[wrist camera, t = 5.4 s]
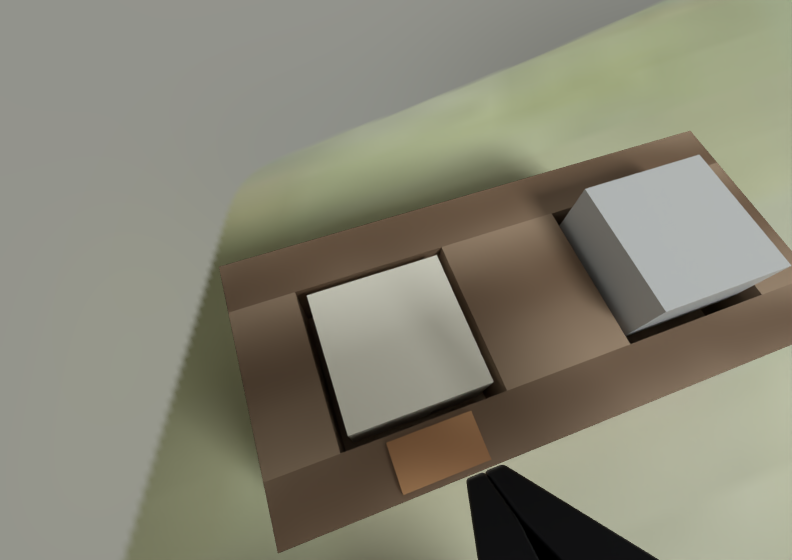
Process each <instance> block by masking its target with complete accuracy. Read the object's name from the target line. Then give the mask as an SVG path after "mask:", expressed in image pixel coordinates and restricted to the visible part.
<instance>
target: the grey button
mask: <svg viewBox="0 0 792 560" xmlns="http://www.w3.org/2000/svg"><path fill="white" fill-rule="evenodd" d="M559 227H560V228H561V230H562V232H563V233H564V235H565V237H566V238H567V240H568V242H569V243H570V245H571V247H572V248H573V250H574V252H575V253H576V255H577V257H578V258H579V260H580V262H581V263H582V265H583V267H584V268H585V270H586V271H587V273H588V275H589V276H590V278H591V280H592V281H593V283H594V285H595V286H596V288H597V290H598V291H599V293H600V295H601V296H602V298H603V300H604V301H605V303H606V305H607V306H608V308H609V310H610V311H611V313H612V315H613V316H614V318H615V320H616V321H617V323H618V325H619V326H620V328H621V330H622V331H623V333H624V335H625V336H629V335H632V334H634V333H637V332H640V331H642V330H645V329H648V328H651V327H653V326H656V325H659V324H661V323H664V322H667V321H669V320H672V319H675V318H677V317H680V316H683V315H685V314H688V313H691V312H693V311H696V310H699V309H701V308H704V307H707V306H710V305H712V304H715V303H718V302H720V301H723V300H726V299H728V298H730V297H732V296H734V295H736V294H738V293H740V292H742V291H744V290H746V289H748V288H749V287H751V286H753V285H755V284H757V283H759V282H761V281H763V280H765V279H767V278H769V277H771V276H773V275H775V274H776V273H778V272H780V271H782V270H784V269H786V268H788V267H790V266H791V264H790V263H789V262H788V261H787V260H786V258H785V257H784V256H783V255H782V254H781V252H780V251H779V250H778V249H777V247H776V246H775V245H774V244H773V243H772V241H771V240H770V239H769V238H768V237H767V235H766V234H765V233H764V232H763V231H762V229H761V228H760V227H759V226H758V225H757V223H756V222H755V221H754V220H753V219H752V217H751V216H750V215H749V214H748V213H747V211H746V210H745V209H744V208H743V207H742V205H741V204H740V203H739V202H738V200H737V199H736V198H735V197H734V196H733V194H732V193H731V192H730V191H729V190H728V188H727V187H726V186H725V185H724V184H723V182H722V181H721V180H720V179H719V178H718V176H717V175H716V174H715V173H714V172H713V170H712V169H711V168H710V167H709V166H708V164H707V163H706V162H705V161H704V160H703V158H702V157H701V156H700V155H696V156H693V157H690V158H686V159H683V160H680V161H676V162H673V163H670V164H666V165H663V166H660V167H656V168H653V169H650V170H646V171H643V172H640V173H636V174H633V175H630V176H626V177H623V178H620V179H616V180H613V181H610V182H606V183H603V184H600V185H597V186H593V187H590V188H587V189H585V190H584V191H583V193H582V194H581V195H580V197H579V198H578V200H577V201H576V203H575V204H574V206H573V207H572V208H571V210H570V211H569V213H568V214H567V216H566V217H565V218H564V220H563V221H562V223H561V224H560V226H559Z"/></svg>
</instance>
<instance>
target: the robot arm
mask: <svg viewBox="0 0 792 560" xmlns="http://www.w3.org/2000/svg"><path fill="white" fill-rule="evenodd" d="M467 489H468V496H469V503H470V510H471V516H472V523H473V530H474V537H475V544H476V550H477V557H478V560H659V559H657V558H655V557H654V556H652V555H650V554H649V553H647V552H646V551H644V550H642V549H641V548H639V547H637V546H636V545H634V544H632V543H631V542H629V541H628V540H626V539H624V538H623V537H621V536H619V535H618V534H616V533H615V532H613V531H611V530H610V529H608V528H606V527H605V526H603V525H602V524H600V523H598V522H597V521H595V520H593V519H592V518H590V517H589V516H587V515H585V514H584V513H582V512H580V511H579V510H577V509H575V508H574V507H572V506H571V505H569V504H567V503H566V502H564V501H562V500H561V499H559V498H558V497H556V496H554V495H553V494H551V493H549V492H548V491H546V490H545V489H543V488H541V487H540V486H538V485H536V484H535V483H533V482H532V481H530V480H528V479H527V478H525V477H523V476H522V475H520V474H518V473H517V472H515V471H514V470H512V469H510V468H509V467H507V466H505V465H499V466H497V467H494V468H492V469H489V470H487V471H486V474H485V473H480V474H477V475H475V476H472V477H470V478H468V479H467Z"/></svg>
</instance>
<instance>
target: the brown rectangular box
mask: <svg viewBox="0 0 792 560" xmlns="http://www.w3.org/2000/svg"><path fill="white" fill-rule="evenodd" d="M696 155H700V156H701V157H702V158H703V160H704V161H705V162H706V163H707V164H708V166H709V167H710V168H711V169H712V170H713V172H714V173H715V174H716V175H717V176H718V178H719V179H720V180H721V181H722V182H723V184H724V185H725V186H726V187H727V188H728V190H729V191H730V192H731V193H732V194H733V196H734V197H735V198H736V199H737V200H738V202H739V203H740V204H741V205H742V207H743V208H744V209H745V210H746V211H747V213H748V214H749V215H750V216H751V217H752V219H753V220H754V221H755V222H756V223H757V225H758V226H759V227H760V228H761V229H762V231H763V232H764V233H765V234H766V235H767V237H768V238H769V239H770V240H771V241H772V243H773V244H774V245H775V246H776V247H777V249H778V250H779V251H780V252H781V254H782V255H783V256H784V257H785V258H786V260H787V261H788V262H789V263H790V264H791V266H790V267H788V268H786V269H784V270H782V271H780V272H778V273H776V274H775V275H773V276H771V277H769V278H767V279H765V280H763V281H761V282H759V283H757V284H755V285H753V286H751V287H749V288H748V289H746V290H744V291H742V292H740V293H738V294H736V295H734V296H732V297H730V298H728V299H726V300H723V301H720V302H718V303H715V304H712V305H710V306H707V307H704V308H701V309H699V310H696V311H693V312H691V313H688V314H685V315H683V316H680V317H677V318H675V319H672V320H669V321H667V322H664V323H661V324H659V325H656V326H653V327H651V328H648V329H645V330H642V331H640V332H637V333H634V334H632V335H629V336H625V335H624V333H623V331H622V330H621V328H620V326H619V325H618V323H617V321H616V320H615V318H614V316H613V315H612V313H611V311H610V310H609V308H608V306H607V305H606V303H605V301H604V300H603V298H602V296H601V295H600V293H599V291H598V290H597V288H596V286H595V285H594V283H593V281H592V280H591V278H590V276H589V275H588V273H587V271H586V270H585V268H584V267H583V265H582V263H581V262H580V260H579V258H578V257H577V255H576V253H575V252H574V250H573V248H572V247H571V245H570V243H569V242H568V240H567V238H566V237H565V235H564V233H563V232H562V230H561V228H560V227H559V226H560V224H561V223H562V221H563V220H564V218H565V217H566V216H567V214H568V213H569V211H570V210H571V208H572V207H573V206H574V204H575V203H576V201H577V200H578V198H579V197H580V195H581V194H582V193H583V191H584V190H585V189H587V188H590V187H593V186H597V185H600V184H603V183H606V182H610V181H613V180H616V179H620V178H623V177H626V176H630V175H633V174H636V173H640V172H643V171H646V170H650V169H653V168H656V167H660V166H663V165H666V164H670V163H673V162H676V161H680V160H683V159H686V158H690V157H693V156H696ZM436 255H437V257H438V259H439V261H440V263H441V266H442V268H443V270H444V272H445V275H446V277H447V279H448V281H449V283H450V286H451V288H452V290H453V292H454V295H455V297H456V299H457V301H458V304H459V306H460V308H461V310H462V312H463V315H464V317H465V319H466V321H467V324H468V326H469V328H470V330H471V333H472V335H473V337H474V339H475V341H476V344H477V346H478V348H479V350H480V353H481V355H482V357H483V359H484V361H485V364H486V366H487V368H488V370H489V373H490V375H491V377H492V379H493V383H492V384H491V385H490V386H489V387H487V388H486V389H485V390H484V391H483V392H482V393H480V394H479V395H478V396H477V397H475V398H472V399H470V400H467V401H464V402H462V403H459V404H456V405H454V406H451V407H448V408H446V409H443V410H440V411H438V412H435V413H432V414H430V415H427V416H424V417H422V418H419V419H416V420H414V421H411V422H408V423H406V424H403V425H400V426H398V427H395V428H392V429H390V430H387V431H384V432H382V433H379V434H376V435H374V436H371V437H368V438H366V439H363V440H360V441H358V442H355V443H354V442H353V441H352V440H351V439H350V438H349V437H348V435H347V431H346V428H345V425H344V421H343V418H342V414H341V411H340V408H339V404H338V401H337V397H336V394H335V390H334V387H333V384H332V380H331V377H330V373H329V370H328V367H327V363H326V360H325V356H324V353H323V349H322V346H321V343H320V339H319V336H318V332H317V329H316V325H315V322H314V319H313V315H312V312H311V308H310V305H309V302H308V298H307V295H310V294H313V293H316V292H319V291H323V290H326V289H329V288H332V287H336V286H339V285H342V284H345V283H349V282H352V281H355V280H358V279H361V278H365V277H368V276H371V275H374V274H378V273H381V272H384V271H387V270H390V269H394V268H397V267H400V266H403V265H407V264H410V263H413V262H416V261H420V260H423V259H426V258H429V257H432V256H436ZM219 270H220V274H221V279H222V284H223V289H224V294H225V299H226V304H227V308H228V313H229V318H230V323H231V328H232V333H233V338H234V342H235V347H236V352H237V357H238V362H239V367H240V371H241V376H242V381H243V386H244V391H245V396H246V401H247V405H248V410H249V415H250V420H251V425H252V430H253V435H254V439H255V444H256V449H257V454H258V459H259V464H260V468H261V473H262V478H263V483H264V488H265V493H266V498H267V502H268V507H269V512H270V517H271V522H272V527H273V532H274V536H275V541H276V546H277V551H278V553H280V552H283V551H285V550H288V549H290V548H293V547H295V546H297V545H300V544H302V543H305V542H307V541H310V540H312V539H315V538H317V537H320V536H322V535H324V534H327V533H329V532H332V531H334V530H337V529H339V528H342V527H344V526H347V525H349V524H352V523H354V522H356V521H359V520H361V519H364V518H366V517H369V516H371V515H374V514H376V513H379V512H381V511H384V510H386V509H388V508H391V507H393V506H396V505H398V504H401V503H403V502H406V501H408V500H411V499H413V498H415V497H418V496H420V495H423V494H425V493H428V492H430V491H433V490H435V489H438V488H440V487H443V486H445V485H447V484H450V483H452V482H455V481H457V480H460V479H462V478H465V477H467V476H470V475H472V474H475V473H477V472H479V471H482V470H484V469H487V468H489V467H492V466H494V465H497V464H499V463H502V462H504V461H506V460H509V459H511V458H514V457H516V456H519V455H521V454H524V453H526V452H529V451H531V450H534V449H536V448H538V447H541V446H543V445H546V444H548V443H551V442H553V441H556V440H558V439H561V438H563V437H566V436H568V435H570V434H573V433H575V432H578V431H580V430H583V429H585V428H588V427H590V426H593V425H595V424H597V423H600V422H602V421H605V420H607V419H610V418H612V417H615V416H617V415H620V414H622V413H625V412H627V411H629V410H632V409H634V408H637V407H639V406H642V405H644V404H647V403H649V402H652V401H654V400H657V399H659V398H661V397H664V396H666V395H669V394H671V393H674V392H676V391H679V390H681V389H684V388H686V387H688V386H691V385H693V384H696V383H698V382H701V381H703V380H706V379H708V378H711V377H713V376H716V375H718V374H720V373H723V372H725V371H728V370H730V369H733V368H735V367H738V366H740V365H743V364H745V363H748V362H750V361H752V360H755V359H757V358H760V357H762V356H765V355H767V354H770V353H772V352H775V351H777V350H779V349H782V348H784V347H787V346H789V345H792V251H791V250H790V249H789V247H788V246H787V245H786V244H785V243H784V241H783V240H782V239H781V238H780V237H779V235H778V234H777V233H776V232H775V231H774V230H773V228H772V227H771V226H770V225H769V224H768V222H767V221H766V220H765V219H764V218H763V216H762V215H761V214H760V213H759V212H758V211H757V209H756V208H755V207H754V206H753V205H752V203H751V202H750V201H749V200H748V199H747V198H746V196H745V195H744V194H743V193H742V192H741V190H740V189H739V188H738V187H737V186H736V184H735V183H734V182H733V181H732V180H731V179H730V177H729V176H728V175H727V174H726V173H725V171H724V170H723V169H722V168H721V167H720V166H719V164H718V163H717V162H716V161H715V160H714V158H713V157H712V156H711V155H710V154H709V152H708V151H707V150H706V149H705V148H704V147H703V145H702V144H701V143H700V142H699V141H698V139H697V138H696V137H695V136H694V135H693V133H692V132H691V131H688V132H684V133H681V134H677V135H674V136H670V137H667V138H663V139H660V140H656V141H653V142H649V143H646V144H643V145H639V146H636V147H632V148H629V149H625V150H622V151H618V152H615V153H611V154H608V155H604V156H601V157H597V158H594V159H591V160H587V161H584V162H580V163H577V164H573V165H570V166H566V167H563V168H559V169H556V170H552V171H549V172H545V173H542V174H539V175H535V176H532V177H528V178H525V179H521V180H518V181H514V182H511V183H507V184H504V185H500V186H497V187H493V188H490V189H487V190H483V191H480V192H476V193H473V194H469V195H466V196H462V197H459V198H455V199H452V200H448V201H445V202H441V203H438V204H435V205H431V206H428V207H424V208H421V209H417V210H414V211H410V212H407V213H403V214H400V215H396V216H393V217H389V218H386V219H383V220H379V221H376V222H372V223H369V224H365V225H362V226H358V227H355V228H351V229H348V230H344V231H341V232H338V233H334V234H331V235H327V236H324V237H320V238H317V239H313V240H310V241H306V242H303V243H299V244H296V245H292V246H289V247H286V248H282V249H279V250H275V251H272V252H268V253H265V254H261V255H258V256H254V257H251V258H247V259H244V260H240V261H237V262H234V263H230V264H227V265H223V266H220V267H219Z"/></svg>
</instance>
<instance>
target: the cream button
mask: <svg viewBox="0 0 792 560" xmlns="http://www.w3.org/2000/svg"><path fill="white" fill-rule="evenodd" d="M307 298H308V302H309V305H310V308H311V312H312V315H313V319H314V322H315V325H316V329H317V332H318V336H319V339H320V343H321V346H322V349H323V353H324V356H325V360H326V363H327V367H328V370H329V373H330V377H331V380H332V384H333V387H334V390H335V394H336V397H337V401H338V404H339V408H340V411H341V414H342V418H343V421H344V425H345V428H346V431H347V435H348V437H349V438H350V439H351V440H352V441H353V442H354V443H355V442H358V441H360V440H363V439H366V438H368V437H371V436H374V435H376V434H379V433H382V432H384V431H387V430H390V429H392V428H395V427H398V426H400V425H403V424H406V423H408V422H411V421H414V420H416V419H419V418H422V417H424V416H427V415H430V414H432V413H435V412H438V411H440V410H443V409H446V408H448V407H451V406H454V405H456V404H459V403H462V402H464V401H467V400H470V399H472V398H475V397H477V396H478V395H479V394H480V393H482V392H483V391H484V390H485V389H486V388H487V387H489V386H490V385H491V384H492V383H493V379H492V377H491V375H490V373H489V370H488V368H487V366H486V364H485V361H484V359H483V357H482V355H481V353H480V350H479V348H478V346H477V344H476V341H475V339H474V337H473V335H472V333H471V330H470V328H469V326H468V324H467V321H466V319H465V317H464V315H463V312H462V310H461V308H460V306H459V304H458V301H457V299H456V297H455V295H454V292H453V290H452V288H451V286H450V283H449V281H448V279H447V277H446V275H445V272H444V270H443V268H442V266H441V263H440V261H439V259H438V257H437V255H436V256H432V257H429V258H426V259H423V260H420V261H416V262H413V263H410V264H407V265H403V266H400V267H397V268H394V269H390V270H387V271H384V272H381V273H378V274H374V275H371V276H368V277H365V278H361V279H358V280H355V281H352V282H349V283H345V284H342V285H339V286H336V287H332V288H329V289H326V290H323V291H319V292H316V293H313V294H310V295H307Z"/></svg>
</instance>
